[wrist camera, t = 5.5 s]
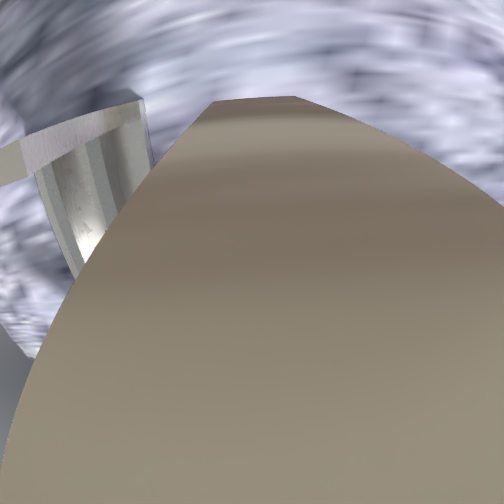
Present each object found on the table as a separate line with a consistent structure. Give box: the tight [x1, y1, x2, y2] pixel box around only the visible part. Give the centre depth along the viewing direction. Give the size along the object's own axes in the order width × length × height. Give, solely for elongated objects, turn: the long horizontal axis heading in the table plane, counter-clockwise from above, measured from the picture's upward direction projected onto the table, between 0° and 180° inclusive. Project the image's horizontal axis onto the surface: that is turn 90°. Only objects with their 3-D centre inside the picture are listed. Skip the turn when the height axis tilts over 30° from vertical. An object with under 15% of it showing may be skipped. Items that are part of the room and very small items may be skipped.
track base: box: [0, 99, 154, 280], centre depth 24 cm, size 30×14×16 cm, turn 4°
